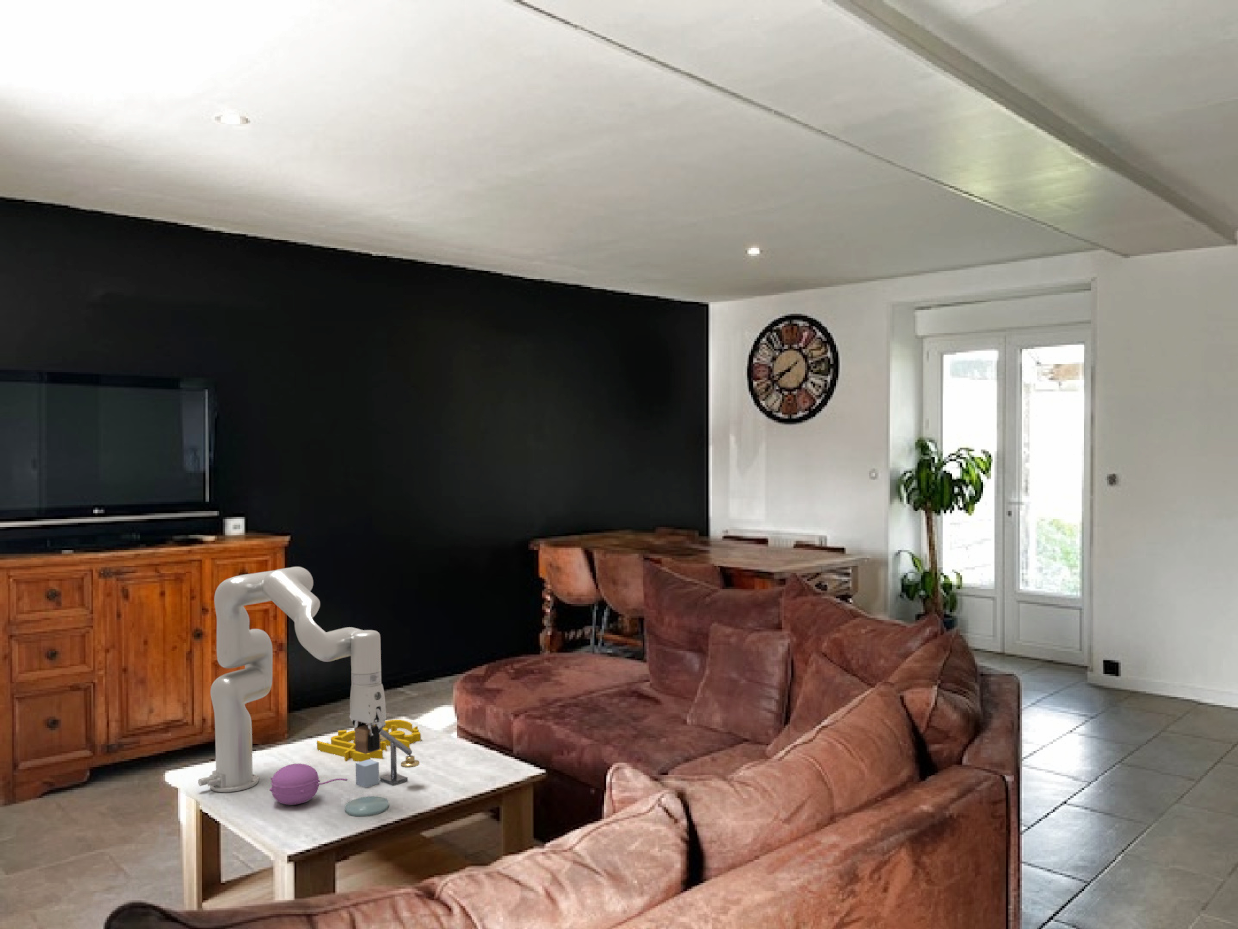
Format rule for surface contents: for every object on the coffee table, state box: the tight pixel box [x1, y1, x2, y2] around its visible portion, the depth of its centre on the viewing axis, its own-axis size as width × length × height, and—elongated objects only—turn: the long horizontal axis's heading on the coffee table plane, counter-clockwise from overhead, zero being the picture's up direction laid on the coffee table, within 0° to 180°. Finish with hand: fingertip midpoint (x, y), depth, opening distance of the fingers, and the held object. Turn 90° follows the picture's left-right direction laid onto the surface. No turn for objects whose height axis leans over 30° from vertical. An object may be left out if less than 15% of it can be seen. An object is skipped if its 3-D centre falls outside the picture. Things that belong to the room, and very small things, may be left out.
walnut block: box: [355, 724, 380, 754], centre depth 244 cm, size 4×4×6 cm
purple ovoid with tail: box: [269, 763, 348, 806], centre depth 247 cm, size 12×19×10 cm, turn 77°
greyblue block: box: [355, 759, 380, 789], centre depth 262 cm, size 4×4×6 cm
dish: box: [344, 795, 390, 817], centre depth 243 cm, size 11×11×1 cm
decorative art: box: [316, 719, 422, 762], centre depth 300 cm, size 34×3×30 cm
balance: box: [379, 729, 420, 787], centre depth 263 cm, size 5×20×14 cm, turn 49°
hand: (367, 747), depth 244 cm, fingers closed on walnut block, 4 cm apart
